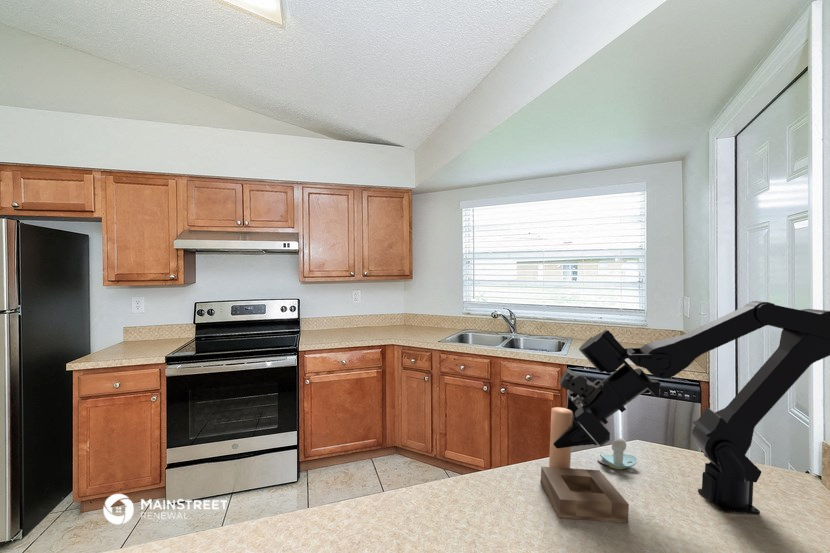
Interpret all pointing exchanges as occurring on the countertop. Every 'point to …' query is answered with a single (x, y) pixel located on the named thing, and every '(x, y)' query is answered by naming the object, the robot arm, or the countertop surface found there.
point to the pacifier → (618, 456)
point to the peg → (559, 424)
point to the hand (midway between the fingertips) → (554, 437)
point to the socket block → (583, 494)
